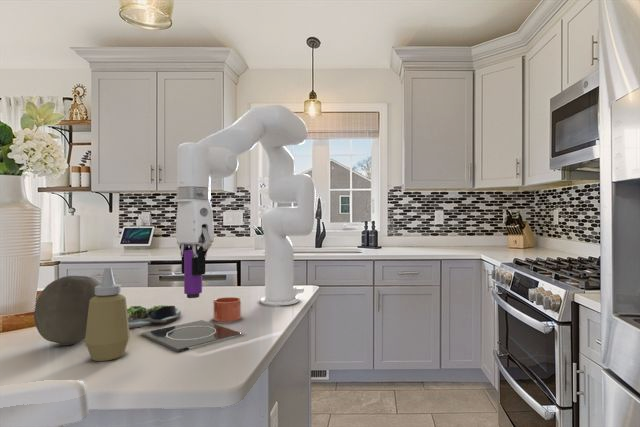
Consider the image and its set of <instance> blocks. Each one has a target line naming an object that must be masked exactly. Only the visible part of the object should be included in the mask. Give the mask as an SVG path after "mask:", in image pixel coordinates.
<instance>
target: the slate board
mask: <svg viewBox="0 0 640 427" xmlns="http://www.w3.org/2000/svg"><path fill="white" fill-rule="evenodd" d="M238 335H242V332H240V331H236V330H234V329H230V328H227V327H224V326H221V325H218V324H216V323H212V322H209V321H206V320H203V319H200V320H196V321H191V322H186V323H181V324H177V325H172V326H167V327H163V328H158V329H153V330H148V331H144V332H141V336H142V337H145V338H147V339H150V340H151V341H153V342H156V343H158V344H160V345H162V346H164V347H166V348H168V349H171V350H173V351H175V352H177V353H182V352H185V351H188V350H190V348H192V347H196V346H200V345H203V344H207V343H208V344H209V343H212V342H215V341H219V340H223V339H227V338H231V337H234V336H238Z"/></svg>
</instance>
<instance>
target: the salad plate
mask: <svg viewBox="0 0 640 427" xmlns="http://www.w3.org/2000/svg"><path fill="white" fill-rule="evenodd" d="M127 314H128V323H129V329H135V328H139V329H140V327H151V326H155V327H156V326H162V325H163V326H164V325H168V324H171V323H174V322H177V321H178V319H179V318H180V315H181V309H180V308H179V307H176V305H166V304H164V305H163V304H162V305H161V304H159V305H154V306H152V307H150V308H146V307H144V306H142V305H131V306H129V308H127Z"/></svg>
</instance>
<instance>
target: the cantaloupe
mask: <svg viewBox="0 0 640 427" xmlns="http://www.w3.org/2000/svg"><path fill="white" fill-rule="evenodd" d="M99 285H101V281H98V279H95V278H94V277H92V276H91V277H90V276H87V275H66V276H62V277H59V278H58V279H54V280H53V281H51V282H50V283H48V284H47V285H46V286H45V287H44V289H43V290H42V291H41V293H40V294H39V296H38V297H37V299H36V301H35V305H34V306H35V307H34V313H33V319H34V320H33V321H34V325H35V327H36V329H37V331H38V333H39V335H40V336H41V337H42V338H43V339H44V340H46V341H49V342H52V343H56V344H59V345H61V346H71V345H75V344H77V343H80V342H82V341H85V335H86V327H87V318H88V309H89V300H91V299H92V298H93V297H95V296H97V295H95V287H96V286H99Z"/></svg>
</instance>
